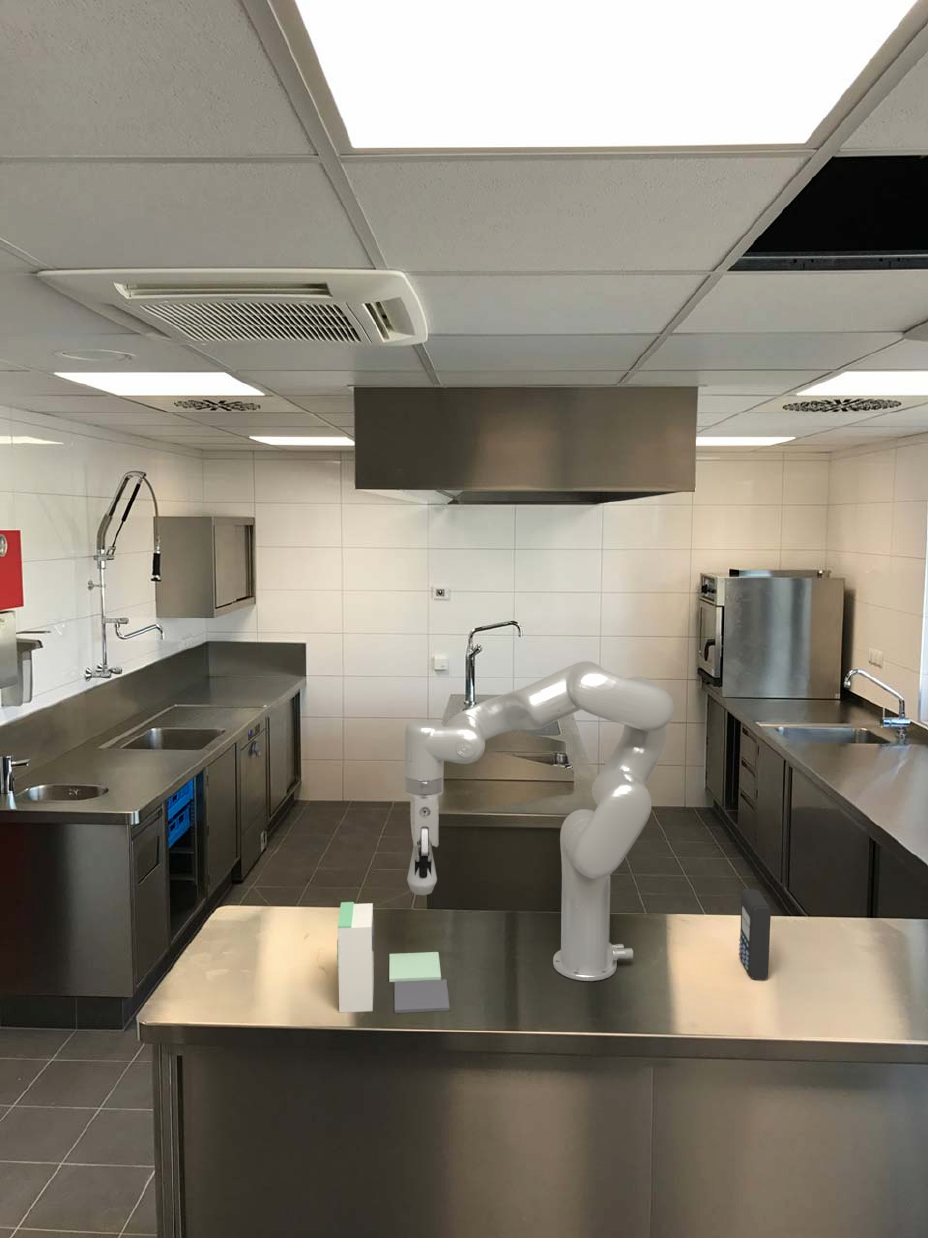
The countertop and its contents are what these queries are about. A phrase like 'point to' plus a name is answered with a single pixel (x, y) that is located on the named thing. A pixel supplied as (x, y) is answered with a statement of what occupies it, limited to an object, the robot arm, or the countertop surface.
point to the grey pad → (421, 996)
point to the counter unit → (355, 957)
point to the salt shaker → (421, 884)
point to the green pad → (414, 966)
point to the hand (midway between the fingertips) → (422, 875)
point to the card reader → (755, 933)
